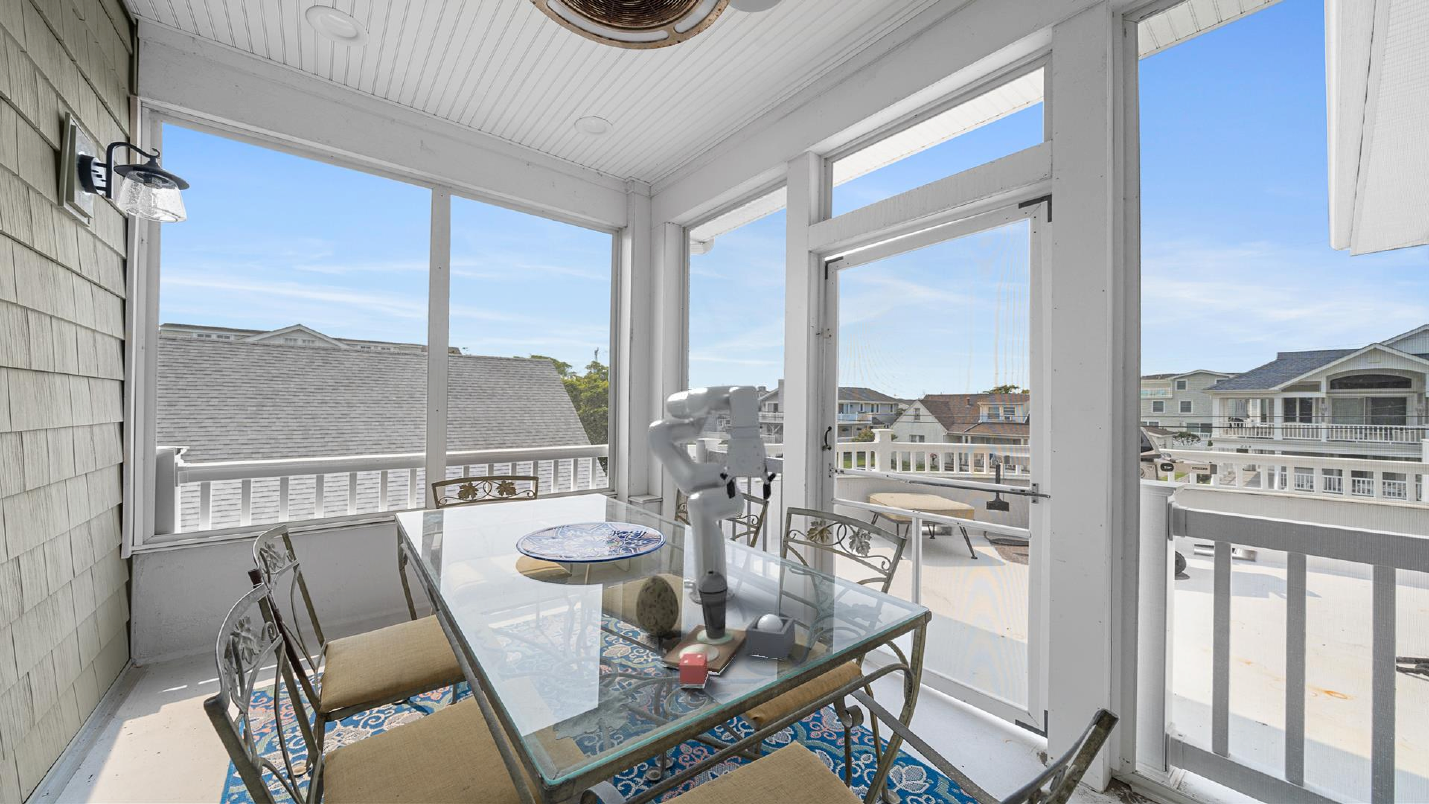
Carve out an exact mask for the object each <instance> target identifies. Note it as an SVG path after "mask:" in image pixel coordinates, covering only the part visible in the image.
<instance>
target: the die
mask: <svg viewBox="0 0 1429 804" xmlns="http://www.w3.org/2000/svg"><path fill="white" fill-rule="evenodd" d="M707 674H708V667H707V654H684V655H683V657H682V660H681V662H680V664H679V683H680V684H704V683H705V680H706V677H707ZM708 675H709V674H708ZM680 684H679V685H680Z"/></svg>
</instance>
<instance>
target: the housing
mask: <svg viewBox="0 0 1429 804" xmlns="http://www.w3.org/2000/svg"><path fill="white" fill-rule="evenodd" d="M765 615H766V614H760V613H759V614H757V615H756V616H755V617H754V619H753V620H752V621H751V623H749V625H748V626H747V627H746V628H745V631H746V643H745V644H746V656H748V655H759V656H765V657H768V658H767V659H769V658H777V659H782V660H781V661H783V660H785V661H786V659H787V658H788V656H789V655H790V653H789V652H791V651H792V650H793V648H794V646H795V645H796V629H795V628H796V627H795V618H793V617H783V616H777V617H778V618H779V619H780V620H781V621H782V624H783V629H782V630H781V632H776V631H768V630H760V629H758V622H759V620H760V619H761V618H762V617H763V616H765ZM791 649H792V650H791ZM788 654H789V655H788ZM787 655H788V656H787ZM786 657H787V658H786ZM785 658H786V659H785Z"/></svg>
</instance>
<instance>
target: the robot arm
mask: <svg viewBox="0 0 1429 804" xmlns="http://www.w3.org/2000/svg"><path fill="white" fill-rule="evenodd" d="M668 397H669V398H667V400H666V404H665V408H666V411H667V413H668V415H670V416H671V417H667V418H661V419H657V420H656V421H653V422H652V423H651V424H650V425H649V426H648V429H647V440H648V445H649V448H650V450H651V451H652V453H653V455H654V456H655V458H656V459H657V460H658V461H659V462H660V463H661V464H662V465H663V467H664V468H665V469H666V471H667V472H668V474H669V476H670V477H671V479H672V480H673V482H674V484H675V485H676V487H677V488H678V490H679V492H680V493H681V494H683V495H684V496H686V497H688V498H687V501H686V510H687V514H688V517H689V523H690V528H691V529H690V530H691V538H692V539H691V541H692V553H693V566H694V567H693V568H694V580H693V579H684V582H683V586H684V589H691V592H690V599H691V600H692V601H693V602H695V603H698V604H702V603H701V598H700V595H699V591H698V588H699V582H700V579H701V577H702V576H703V575H704V574H705V573H706V572H709V571H714V557H715V553H717V559H716V571H717V572H719V573H721V574H722V575H723V576H724V578H725V580H726V582H727V583H728V572H727V570H728V569H727V553H726V552H727V551H726V540H725V539H726V538H725V535H724V531H723V530H722V529H721V528H720V526H719V525H718V521H721V520H722V521H723V520H727V519H732V518H735V517H738V516H740V515H741V514H742V513H743V512H744V510H745V507H746V502H745V497H744V495H743V493H742V491H741V489H740V487H739V486H738V485H737V484H736V481H734V479H735V478H753V479H754V478H760V479H761V481H762V482H763V483H764V484H762V496H763V497H762V498H763V500H765V501H766V500H768V499H770V497H771V495H772V487H771V486H772V484H771V483H772V482H773V480H775V479H776V477H777V476H778V473H779V472H780V467H781V466H779V465H778V464H776V463H775V462H772V461H770V460H768V459H767V452H766V451H767V450H766V448H765V447H766V446H765V442H764V438H763V437H761V432H760V431H761V428H760V414H759V413H760V412H759V409H760V408H759V395H758V389H757V387H756V386H755V385H717V386H708V387H707V386H706V387H699V388H694V389H689V390H684V391H678V392H675V393H673V394H671V395H670V396H668ZM723 414H728V415H729V418H730V421H729V422H730V427H729V428H727V429H726V431H725V433H726V434H727V435H730V438H729V439H728V441H727V446H726V461H723V462H722V463H718V462H715V461H710V462H703V463H702V462H701V463H699V462H696V461H694V459H693V458H692V456H691V455H690V454H689V452H687V451H686V450H685V449H683V448H682V447H681V446H678V444H686V443H692V442H695V441H698V440H699V439H700V438H701V436H702V435H703V433H704V430H705V428H706V426H707V424H708V422H709V420H710V418H711V416H714V415H723ZM676 444H677V445H676ZM769 469H771V470H772V472H771V474H770V475H769V474H768V470H769ZM727 586H728V584H727ZM733 597H734V590H733V589H732V588H731V587H730V586H728V589H727V597H726V602H727V601H729V600H731V599H732V598H733Z"/></svg>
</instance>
